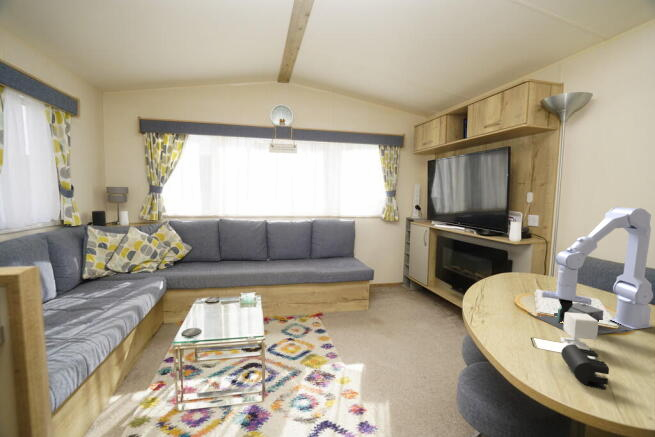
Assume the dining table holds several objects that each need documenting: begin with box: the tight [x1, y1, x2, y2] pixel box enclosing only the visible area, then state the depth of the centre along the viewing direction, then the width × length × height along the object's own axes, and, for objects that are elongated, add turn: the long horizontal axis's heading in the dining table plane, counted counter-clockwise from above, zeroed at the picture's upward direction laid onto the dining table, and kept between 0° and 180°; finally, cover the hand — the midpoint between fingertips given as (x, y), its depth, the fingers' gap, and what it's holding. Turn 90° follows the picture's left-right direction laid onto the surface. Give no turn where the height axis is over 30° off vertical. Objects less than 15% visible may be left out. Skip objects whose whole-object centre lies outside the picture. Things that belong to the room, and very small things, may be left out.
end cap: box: [560, 344, 610, 391], centre depth 82 cm, size 10×7×7 cm
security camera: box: [560, 312, 598, 350], centre depth 98 cm, size 6×7×10 cm
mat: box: [527, 312, 632, 336], centre depth 116 cm, size 24×20×1 cm
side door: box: [554, 306, 562, 322], centre depth 118 cm, size 2×8×5 cm, turn 132°
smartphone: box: [530, 337, 598, 360], centre depth 97 cm, size 8×1×16 cm
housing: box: [568, 302, 604, 322], centre depth 116 cm, size 8×9×6 cm
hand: (563, 319), depth 115 cm, fingers closed, pressing on side door
